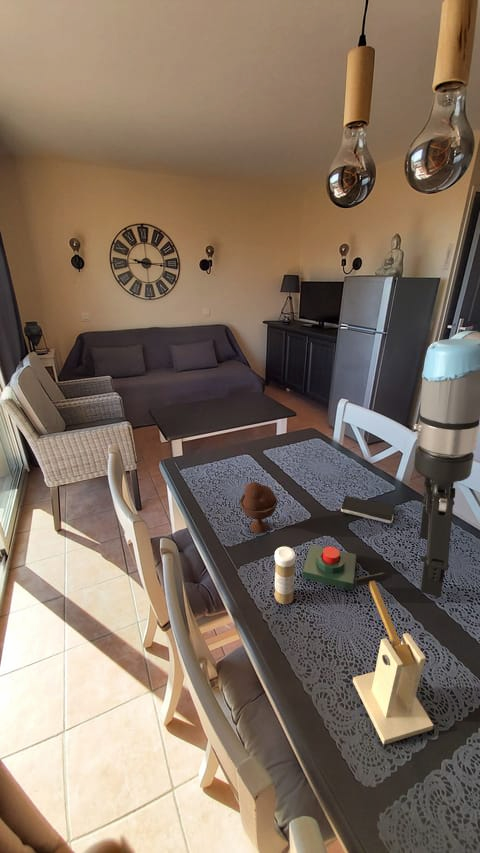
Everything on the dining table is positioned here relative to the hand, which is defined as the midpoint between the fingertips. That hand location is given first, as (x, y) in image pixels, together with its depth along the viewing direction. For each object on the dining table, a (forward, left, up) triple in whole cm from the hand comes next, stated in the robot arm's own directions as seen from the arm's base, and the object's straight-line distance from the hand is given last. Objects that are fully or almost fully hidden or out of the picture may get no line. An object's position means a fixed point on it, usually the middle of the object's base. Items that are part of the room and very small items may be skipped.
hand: (428, 563), depth 60 cm
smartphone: (+9, -47, -25) cm, 54 cm away
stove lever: (+6, +5, -10) cm, 13 cm away
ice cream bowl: (+39, -29, -25) cm, 54 cm away
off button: (+17, -19, -21) cm, 33 cm away
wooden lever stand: (+3, +9, -25) cm, 27 cm away
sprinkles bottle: (+26, -7, -25) cm, 37 cm away
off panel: (+17, -19, -25) cm, 35 cm away
